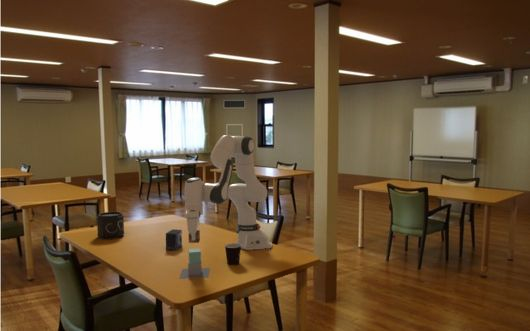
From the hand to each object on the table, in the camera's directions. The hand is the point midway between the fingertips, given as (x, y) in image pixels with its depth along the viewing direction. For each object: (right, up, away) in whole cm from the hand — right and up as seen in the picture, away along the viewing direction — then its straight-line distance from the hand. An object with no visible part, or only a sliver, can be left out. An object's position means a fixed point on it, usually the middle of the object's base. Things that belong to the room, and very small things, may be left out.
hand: (194, 238), depth 199 cm
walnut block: (0, -2, 0) cm, 2 cm away
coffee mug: (+19, -17, +18) cm, 31 cm away
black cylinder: (-70, -13, +76) cm, 104 cm away
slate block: (0, -18, +2) cm, 18 cm away
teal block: (0, -12, +1) cm, 12 cm away
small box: (-21, -15, +47) cm, 53 cm away
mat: (0, -18, +2) cm, 18 cm away
